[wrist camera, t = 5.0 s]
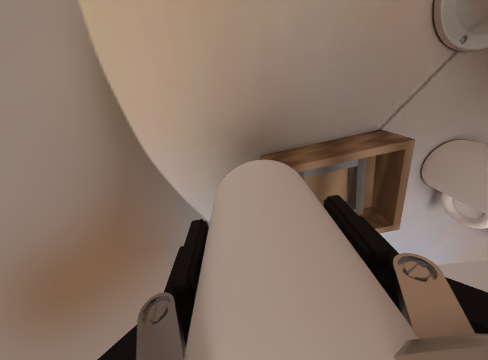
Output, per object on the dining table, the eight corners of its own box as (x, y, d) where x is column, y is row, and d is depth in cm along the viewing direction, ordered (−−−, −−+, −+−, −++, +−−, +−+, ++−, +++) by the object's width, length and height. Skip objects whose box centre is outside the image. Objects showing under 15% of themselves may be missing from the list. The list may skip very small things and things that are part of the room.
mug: (450, 202, 35) (529, 243, 25) (405, 206, 35) (469, 248, 25) (481, 136, 30) (595, 158, 20) (429, 140, 29) (519, 163, 20)
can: (293, 238, 15) (428, 592, 5) (212, 231, 15) (148, 622, 4) (317, 162, 13) (798, 609, 2) (218, 151, 12) (71, 711, 1)
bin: (380, 129, 28) (415, 139, 23) (373, 207, 34) (399, 229, 29) (260, 156, 29) (267, 171, 24) (274, 227, 35) (281, 252, 30)
